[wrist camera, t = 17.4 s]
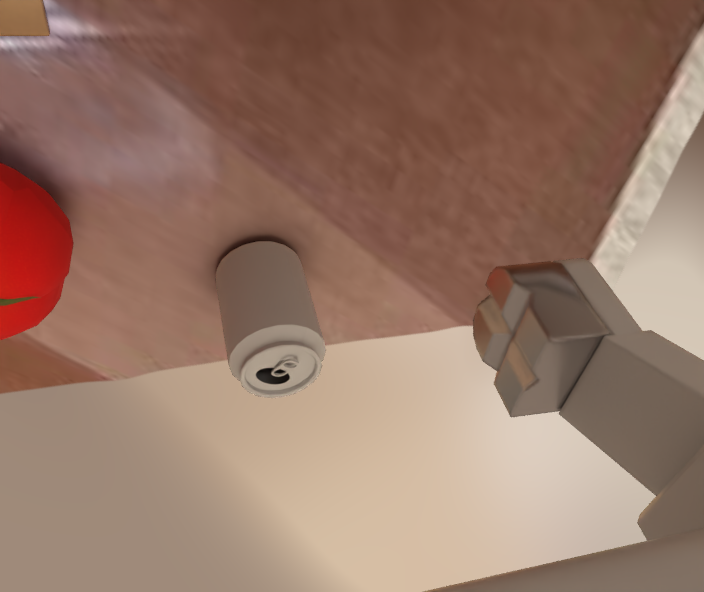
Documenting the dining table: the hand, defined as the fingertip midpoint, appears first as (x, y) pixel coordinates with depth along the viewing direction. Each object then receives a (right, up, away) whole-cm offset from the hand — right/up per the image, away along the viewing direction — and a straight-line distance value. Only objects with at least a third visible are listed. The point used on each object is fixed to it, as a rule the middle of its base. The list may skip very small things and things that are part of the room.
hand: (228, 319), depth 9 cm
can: (-6, +3, +47) cm, 48 cm away
